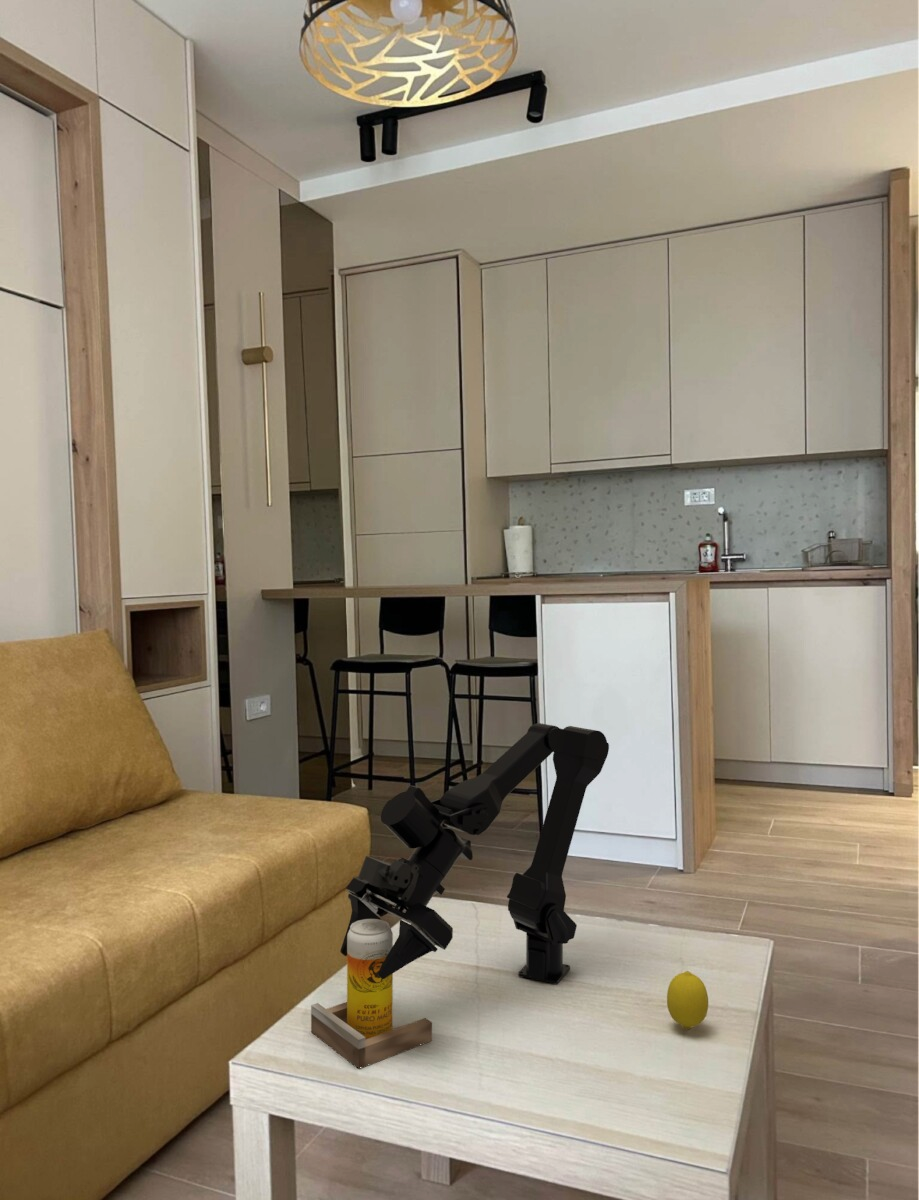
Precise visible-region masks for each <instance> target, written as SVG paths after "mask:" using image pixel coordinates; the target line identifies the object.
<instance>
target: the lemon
mask: <svg viewBox="0 0 919 1200" xmlns="http://www.w3.org/2000/svg"><path fill="white" fill-rule="evenodd" d="M706 988H707V987H706V985H705V982H703V980H701V978H700V977H699V976H697V975H695V974H694V973H691V971H689V970H686V971H684V972H681V973H678V974H677V975H675V976H673V978H672V979H671V981H670V983H669V985H668V987H667V993H666V1006H667V1010H668V1012H669V1016H670V1017H671V1018H672V1020H673V1021H675V1023H676V1024H678V1025H680V1026H682V1027H683V1029H685V1030H686V1031H689V1030H691V1029H692V1028H693V1027H697V1026H699V1025H700V1024H702V1022H703V1021H704V1020H705V1019H706V1017H707V1014H708V1009H709V995H708V992H707V989H706Z"/></svg>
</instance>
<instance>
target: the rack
mask: <svg viewBox="0 0 919 1200" xmlns="http://www.w3.org/2000/svg"><path fill="white" fill-rule="evenodd" d="M310 1006H311V1007H310V1008H311V1009H310V1022H311V1023H310V1032H311V1033H312V1034H313V1035H314V1036H316V1037H317V1039H320V1040H321V1041H322V1042H323V1043H325V1044H326V1045H327V1046H329V1047H330V1048H331V1049H332V1050H333V1051H335V1052H336V1053H337V1054H339V1055H340V1056H341V1057H343V1058H344V1059H345V1060H346V1059H347V1062H349V1061H350V1062H351V1063H353V1064H354V1065H355V1066H356V1068H357V1067H358V1068H360V1067H363V1068H365V1067H367V1066H366V1065H368V1064H371V1065H373V1064H375V1062H376V1063H379V1062H380V1060H381V1061H383V1060H386V1059H389V1058H391V1057H393V1056H396V1055H398V1053H399V1054H401V1053H405V1052H406V1050H407V1051H410V1050H411V1049H410V1048H412V1049H414V1048H416V1047H415V1046H417V1047H419V1046H421V1045H420V1044H422V1045H424V1044H423V1043H425V1044H427V1043H429V1041H430V1042H431V1041H433V1022H432V1021H431V1020H429V1019H428V1018H426V1017H424V1018H422V1019H421V1018H420V1019H418V1020H416V1021H414V1022H413V1021H412V1022H411V1023H407V1024H405V1025H402V1026H400V1027H397V1028H394V1029H392V1030H391V1031H388V1032H385V1033H383V1034H380V1035H377V1036H374V1037H372V1038H369V1039H366V1040H365V1037H364V1036H363V1035H361V1034H360V1033H359V1032H357V1031H356V1030H354V1029H353V1028H352V1027H350V1026H349V1025H348V1024H347V1001H346V1002H343V1003H340V1004H337V1005H334V1006H331V1007H328V1008H326V1007H324V1006H323V1005H321V1004H320V1003H319V1002H317V1003H314V1004H311V1005H310ZM418 1045H419V1046H418ZM413 1047H414V1048H413ZM388 1057H389V1058H388ZM350 1062H349V1063H350ZM351 1063H350V1064H351ZM372 1063H373V1064H372ZM353 1064H352V1065H353ZM354 1065H353V1066H354ZM355 1066H354V1067H355ZM364 1066H365V1067H364ZM368 1066H369V1065H368ZM358 1068H357V1069H358ZM360 1069H361V1068H360Z"/></svg>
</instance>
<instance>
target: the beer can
mask: <svg viewBox="0 0 919 1200" xmlns="http://www.w3.org/2000/svg"><path fill="white" fill-rule="evenodd" d="M393 939H394V934H393V931H392V929H391V926H390V923H389V922H388V921H386V920H383V919H381V920H379V919H364V920H359V921H356V922H354V923H352V924H351V926H350V930H349V932H348V934H347V956H346V970H347V971H346V982H347V983H346V989H347V990H346V1002H347V1024H348V1025H349V1026H350V1027H352V1028H353V1029H354V1030H356V1031H357V1032H359V1033H360V1034H361V1035H363V1036H364V1037H365V1040H366V1039H369V1038H372V1037H374V1036H377V1035H380V1034H383V1033H385V1032H388V1031H391V1030H393V985H394V984H393V974H394V973H393V974H391V975H390V976H388V977H386V978H385V979H382V978H380V977H379V976H378V972H379V970H380V968H381V966H382V964H383V962H384V960H385V959H386V957H387V955H388V953H389V952H390V950H391V948H392V947H393V945H394V943H393V941H394V940H393Z"/></svg>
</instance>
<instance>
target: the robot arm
mask: <svg viewBox="0 0 919 1200" xmlns="http://www.w3.org/2000/svg"><path fill="white" fill-rule="evenodd" d="M609 749H610V744H609V742H607V738H606V735H605V734H604V733H603V732H602V731H600V730H597V729H596V730H595V729H591V728H590V729H589V728H585V727H584V728H583V727H579V726H572V725H568V726H565V727H564V728H560V727H558V726H556V725H552V724H546V723H541V722H539V723H534V724H532V725H530V726H529V728H528V729H527V732H526V733H525V734H524V735H523V736H522V737H521V738H520V739H519V740H517V741H516V742H515V743H514V744H512V746H511V747H510V748H509V749H507V751H505V752H504V753H503V754H502V755H501V756H500V757H499V758H498V759H497V760H495V761H494V762H493V763H492V764H491V765H490V766H489V767H487V769H485V770H484V771H483V772H482V773H480V774H479V775H477V776H474V777H472V778H469V779H466V780H463V781H461V782H460V783H457V784H456V785H454V786H453V787H451V788H450V789H448V790H447V791H446V792H444V794H443V795H442V796H441V797H439V798H436V799H434V800H431V801H430V799H429V798H428V797H427V795H426V794H425V793H424V791H423V790H422V789H421V788H420V787H418V786H415V785H409V786H408V788H407V789H406V791H402V792H400V793H397V794H396V795H395V796H393V797H392V798H391V799H389V800H387V801H386V802H385V804H384V806H383V808H382V809H381V812H380V821H381V822H382V824H383V825H384V826H386V828H387V829H388V830H389V831H390V832H391V833H392V834H393V835H394V836H395V837H397V839H398V840H399V841H400V842H401V843H402V844H403V845H404V846H406V847H407V848H408V849H413V852H412V854H411V855H410V856H409V858H408V859H406V858H404V857H401V858H399V859H395V860H394V861H393V862H392V863H389V862H387V861H384V860H380V859H377V858H374V857H371V856H368V855H365V858H364V860H363V863H362V865H361V869H360V871H359V874H358V876H355V877H352V879H351V880H350V882H349V883H348V885H347V886H346V887H345V890H346V891H347V892H348V893H347V897H348V898H347V899H349V900H350V906H351V915H350V918H349V922H348V926H347V929H346V933H345V935H344V938H343V941H342V944H341V947H340V953H341V955H343V956H344V957H347V934H348V932H349V930H350V926H351V924H352V923H354V922H356V921H359V920H364V919H379V920H382V918H381V917H384V916H386V915H387V914H391V915H393V916H395V917H396V918H399V919H400V920H399V930H398V933H399V934H398V937H397V938H396V940H395V942H394V943H393V947H392V948H391V950H390V952H389V953H388V955H387V957H386V959H385V960H384V962H383V964H382V966H381V968H380V970H379V972H378V976H379V977H380V978H382V979H385V978H386V977H388V976H390V975H391V974H394V973H396V972H398V971H400V970H401V969H402V968H404V967H405V966H407V965H409V964H410V963H412V962H414V961H415V960H419V958H422V957H423V956H425V955H427V954H429V953H431V952H434V953H436V952H437V951H438V948H437V947H439V948H440V949H442V950H446V949H447V947H448V946H449V944H450V943H451V941H452V940H453V937H454V934H453V933H454V930H453V929H454V928H453V927H452V925H450V924H449V923H448V922H447V921H446V920H445V919H444V918H443V917H442V916H441V915H440V914H439V913H438V912H437V911H436V910H435V909H432V908H431V907H429V906H428V904H429V903H430V901H431V900H432V898H433V896H434V895H435V894H438V895H440V896H442V894H443V893H444V892H445V890H446V888H445V887H444V886H443V885H442V884H443V882H444V880H445V878H446V877H447V876H448V874H449V873H450V871H451V870H452V868H453V867H454V865H455V863H456V862H457V860H458V859H459V857H460V858H462V859H466V860H467V861H472V860H473V857H474V856H473V850H472V840H470V839H467V838H466V837H465V838H464V837H459V835H458V834H457V833H456V832H455V831H454V830H456V831H459V832H462V833H465V834H468V835H471V836H481V835H482V834H483V833H485V832H486V831H487V830H488V829H489V828H490V826H491V825H492V823H494V821H495V820H496V818H497V817H498V815H499V814H500V812H501V808H502V804H503V801H504V800H505V798H506V797H507V796H509V794H511V792H513V790H515V789H516V788H517V787H518V785H520V784H521V783H522V782H523V781H524V780H525V779H526V778H527V777H528V776H529V775H530V774H531V773H532V772H534V770H536V769H537V768H538V767H539V766H540V765H541V764H542V763H543V762H544V761H545V760H546V759H548V757H549V756H550V755H551V754H552V762H553V767H554V771H555V774H556V775H555V776H556V778H555V781H554V784H553V785H554V786H553V789H552V792H551V797H550V799H549V803H548V807H547V810H546V813H545V816H544V820H543V822H542V823H543V824H542V826H541V830H540V831H541V832H540V834H539V836H538V837H539V838H538V841H537V845H536V848H535V852H534V855H533V858H532V862H531V864H530V866H529V867H528V868H527V869H526V870H525V871H524V872H523V873H522V874H521V873H519V872H515V874H514V876H513V877H512V884H511V887H510V890H509V892H508V894H507V895H506V898H507V899H508V903H507V910H508V912H509V914H510V917H511V918H512V920H513V922H514V927H515V929H516V930H518V931H522V932H524V933H525V934H526V937H525V938H526V942H525V943H526V944H525V946H526V949H525V950H526V951H525V955H526V957H525V960H526V961H525V965H524V966H523V967H522V968H521V969H520V970H519V971H518V974H517V975H518V976H519V977H522V978H526V979H531V980H535V981H541V982H546V983H550V984H555V985H556V984H558V983H559V982H560V981H561V980H562V979H563V978H564V976H565V975H567V973H568V972H569V971H570V969H571V965H569V964H566V963H564V962H563V961H564V960H563V959H564V957H563V956H564V955H563V954H564V948H563V947H564V945H566V944H569V941H571V940H573V939H574V938H575V934H576V931H577V927H578V925H577V923H576V922H575V921H574V920H573V919H572V918H571V917H570V916H569V914H567V912H566V911H565V907H566V906H565V905H566V900H567V899H566V897H567V895H566V890H565V886H564V885H565V884H564V881H563V874H564V873H563V872H564V869H565V866H566V865H565V864H566V862H567V858H568V854H569V851H570V848H571V843H572V840H573V837H574V834H575V833H574V832H575V829H576V827H577V826H576V825H577V822H578V819H579V815H580V812H581V808H582V805H583V800H584V798H585V794H586V790H587V788H588V786H589V785H590V784H591V783H592V782H593V781H594V780H595V779H596V778H597V777H598V776H599V775H600V773H601V772H602V770H603V767H604V765H605V762H606V759H607V758H608V756H609V755H608V754H609V751H610V750H609ZM442 824H443V825H444V826H446V827H448V828H446V827H445V828H444V827H443V826H442ZM453 829H454V830H453ZM436 946H437V947H436Z"/></svg>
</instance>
